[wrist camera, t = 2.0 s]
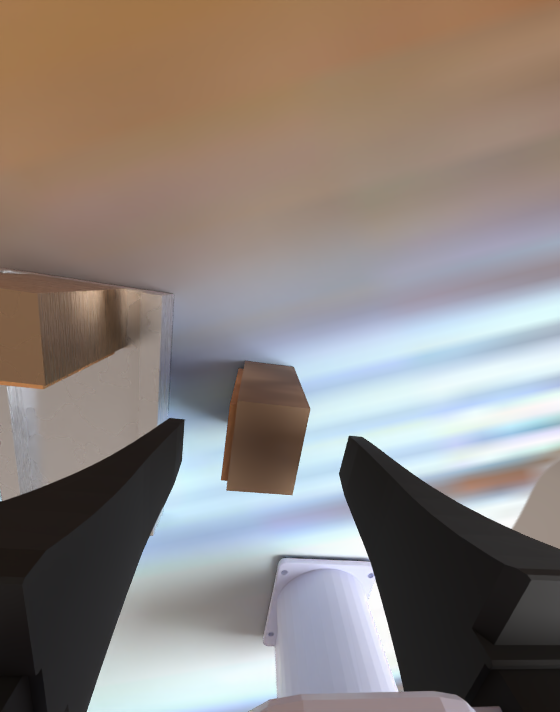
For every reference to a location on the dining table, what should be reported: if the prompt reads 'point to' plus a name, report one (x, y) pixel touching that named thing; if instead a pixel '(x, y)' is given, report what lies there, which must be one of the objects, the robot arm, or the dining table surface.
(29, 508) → the robot arm
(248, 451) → the tan cardboard box
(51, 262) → the dining table surface
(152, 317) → the rail
